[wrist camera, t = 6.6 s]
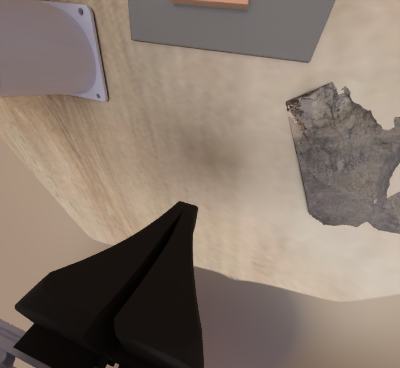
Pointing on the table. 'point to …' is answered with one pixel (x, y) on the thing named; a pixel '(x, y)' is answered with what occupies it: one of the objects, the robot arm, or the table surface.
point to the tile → (215, 4)
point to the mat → (234, 26)
